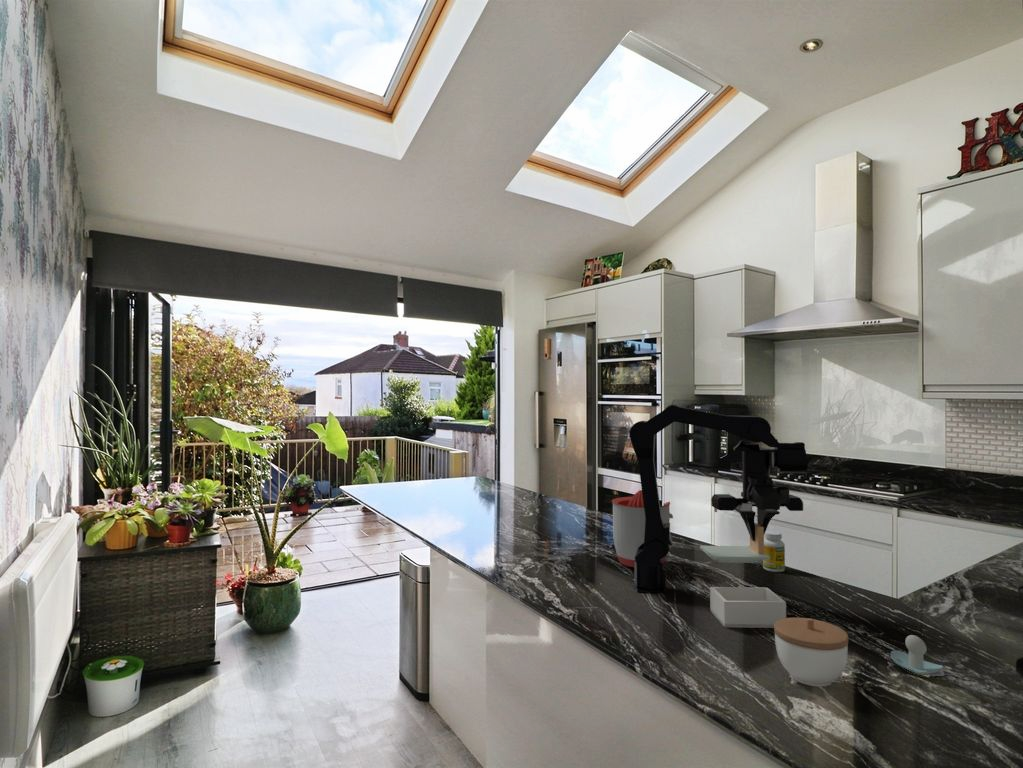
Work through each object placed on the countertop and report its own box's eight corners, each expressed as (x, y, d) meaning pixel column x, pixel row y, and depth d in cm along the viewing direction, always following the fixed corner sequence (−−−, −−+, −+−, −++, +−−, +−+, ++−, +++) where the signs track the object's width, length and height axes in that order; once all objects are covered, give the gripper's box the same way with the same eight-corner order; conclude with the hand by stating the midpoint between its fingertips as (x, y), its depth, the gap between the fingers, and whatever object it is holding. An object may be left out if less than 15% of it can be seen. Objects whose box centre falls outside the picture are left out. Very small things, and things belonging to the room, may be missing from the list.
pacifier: (903, 660, 102) (886, 667, 99) (903, 623, 102) (886, 629, 99) (953, 677, 96) (936, 685, 92) (953, 638, 96) (936, 645, 93)
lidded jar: (768, 682, 93) (768, 622, 94) (780, 657, 102) (780, 603, 103) (846, 701, 88) (845, 638, 88) (851, 673, 96) (850, 615, 97)
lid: (712, 564, 129) (712, 529, 129) (700, 552, 138) (699, 520, 138) (769, 564, 128) (769, 529, 128) (753, 552, 138) (753, 520, 138)
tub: (724, 627, 116) (724, 601, 116) (710, 610, 125) (710, 587, 125) (786, 627, 115) (785, 602, 115) (767, 611, 124) (767, 587, 124)
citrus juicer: (688, 567, 156) (687, 492, 157) (632, 575, 150) (632, 496, 150) (653, 553, 171) (653, 484, 171) (601, 559, 164) (601, 487, 165)
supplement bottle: (770, 565, 158) (770, 529, 158) (789, 570, 154) (788, 533, 154) (758, 568, 155) (758, 532, 155) (777, 573, 151) (776, 536, 151)
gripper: (726, 476, 126) (727, 549, 125) (815, 476, 125) (815, 550, 125) (710, 469, 137) (710, 537, 136) (791, 470, 136) (792, 537, 136)
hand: (756, 540), depth 133 cm, fingers closed on lid
